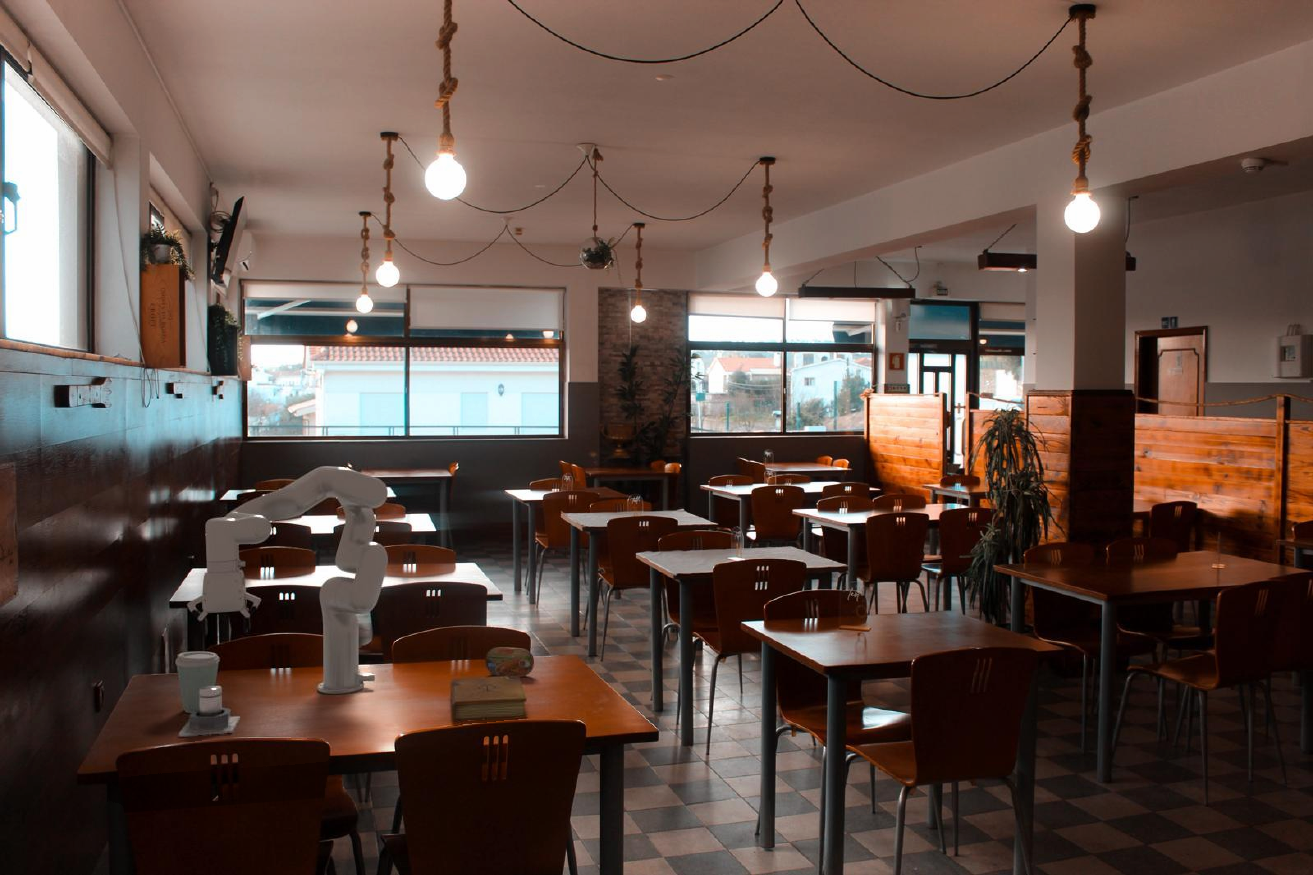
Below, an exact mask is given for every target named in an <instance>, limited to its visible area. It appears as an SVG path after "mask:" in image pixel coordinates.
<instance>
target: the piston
mask: <svg viewBox="0 0 1313 875" xmlns="http://www.w3.org/2000/svg"><path fill="white" fill-rule="evenodd" d="M222 690H223V689H222V686H220V685H215V686H206V687H203V688H200V716H201V717H208V716H216V715H220V714H222V707H223V706H222V705H223V703H222V699H223V698H222V697H223V696H222V694H223V693H222V692H223V691H222Z"/></svg>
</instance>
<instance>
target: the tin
mask: <svg viewBox="0 0 1313 875" xmlns="http://www.w3.org/2000/svg"><path fill="white" fill-rule="evenodd" d="M485 666H486V667H485V668H486V669H487V671H488V672H489V673H491V675H493V676H495V677H501V676H519V677H520V678H523V677H526V676H528V675H529V674H530V673H531V672H532V671H533V669H534V666H535V658H534V656H533V654H532V652H531V651H529V650H528V649H526V648H521V647H508V646H507V647H504V646H500V647H493V648H491V649H490V650H488V652H487V654H486V655H485Z"/></svg>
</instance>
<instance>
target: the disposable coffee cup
mask: <svg viewBox="0 0 1313 875" xmlns="http://www.w3.org/2000/svg"><path fill="white" fill-rule="evenodd" d="M220 660H221V659H220V656H218V654H217V653H215V652H211V651H199V650H198V651H185V652H181V653H179V654H177V658H176V659H175V665H176V669H177V676H178V682H179V688H180V695H181V696H180V697H181V702H182V707H183V709H184V711H185V713H190V714H191V713H192V712H193V711H197V710H200V688H203V687H206V686H216V682H217V675H218V670H219V664H220V663H219V662H220Z"/></svg>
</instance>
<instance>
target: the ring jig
mask: <svg viewBox="0 0 1313 875" xmlns="http://www.w3.org/2000/svg"><path fill="white" fill-rule="evenodd" d="M231 711H232V709H231V708H226V707H223V706H222V714H220V715H216V716H208V717H201V716H200V710H197V711H193V712H192V713H190V714H189V719H188V721H187V722H186V724H185V725H184V726H183V727H182V729H181V730H180V731H179V733H178V737H179V738H182V737H184V738H185V737H198V735H203V736H212V735H211V734H220V735H224V734H223V733H227V732H230V733H231V732H233V733H234V731H235V730H236V728H237V726H238V724H239V722H240V721H241V716H239V715H238V716H232V715H231V714H232V712H231ZM239 720H240V721H239ZM237 723H238V724H237ZM234 729H235V730H234ZM205 734H206V735H205ZM207 734H209V735H207Z"/></svg>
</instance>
